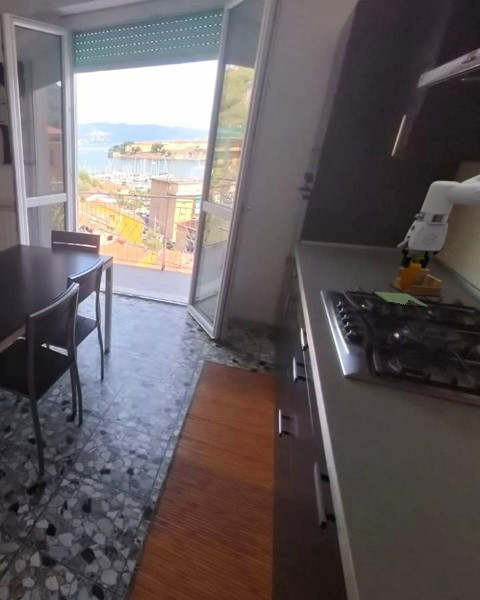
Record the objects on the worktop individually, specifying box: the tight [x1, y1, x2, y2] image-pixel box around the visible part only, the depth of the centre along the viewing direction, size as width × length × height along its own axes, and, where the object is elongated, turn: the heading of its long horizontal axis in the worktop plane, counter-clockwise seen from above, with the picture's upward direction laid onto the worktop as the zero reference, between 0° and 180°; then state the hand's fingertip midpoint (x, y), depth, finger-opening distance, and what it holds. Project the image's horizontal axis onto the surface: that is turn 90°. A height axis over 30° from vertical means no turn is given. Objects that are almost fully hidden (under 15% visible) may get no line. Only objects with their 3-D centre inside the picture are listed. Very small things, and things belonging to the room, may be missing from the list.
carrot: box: [400, 252, 424, 292], centre depth 133 cm, size 5×5×15 cm
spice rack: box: [391, 267, 443, 297], centre depth 145 cm, size 10×11×8 cm
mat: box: [373, 291, 429, 309], centre depth 138 cm, size 12×12×1 cm
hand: (412, 266), depth 132 cm, fingers closed on carrot, 4 cm apart
